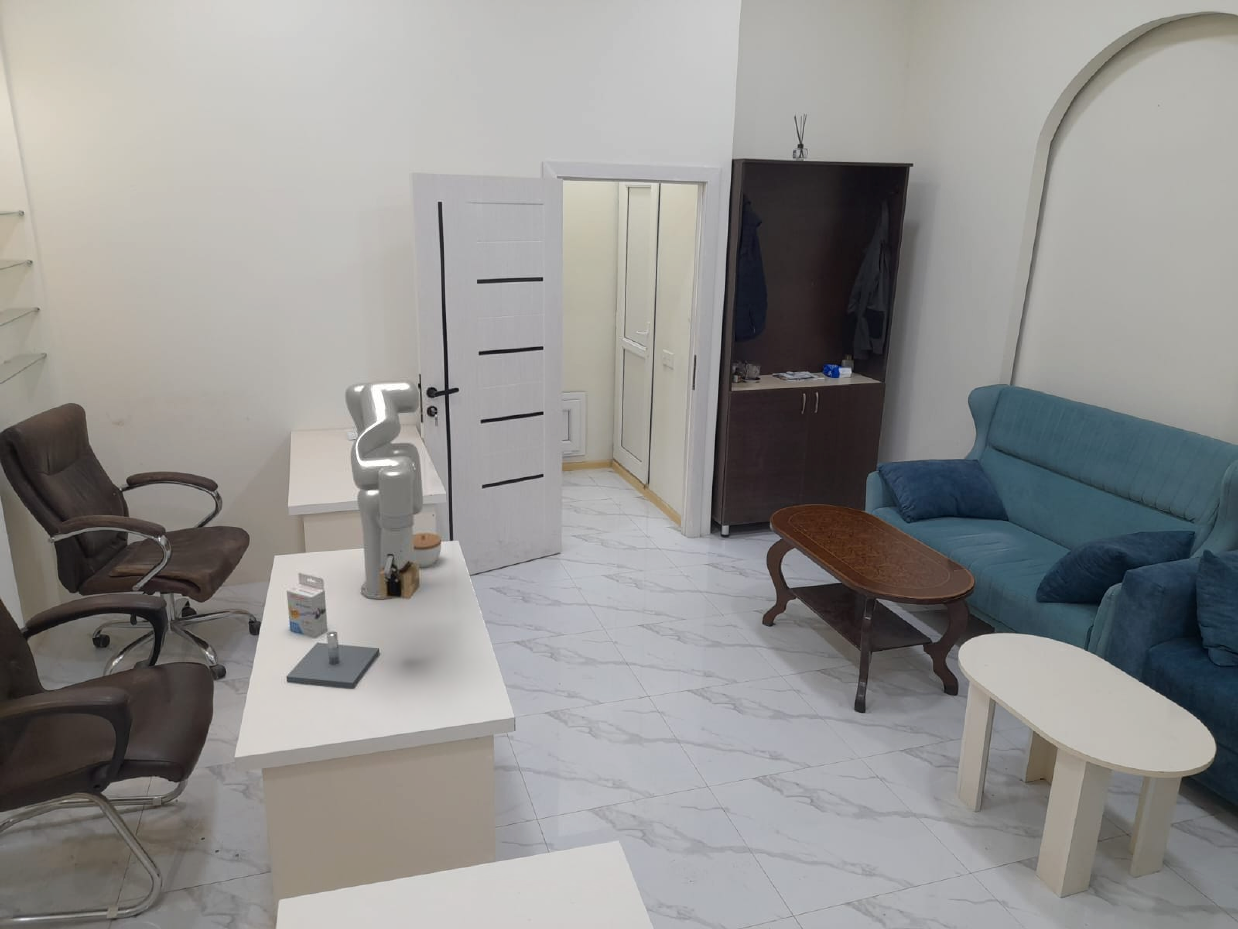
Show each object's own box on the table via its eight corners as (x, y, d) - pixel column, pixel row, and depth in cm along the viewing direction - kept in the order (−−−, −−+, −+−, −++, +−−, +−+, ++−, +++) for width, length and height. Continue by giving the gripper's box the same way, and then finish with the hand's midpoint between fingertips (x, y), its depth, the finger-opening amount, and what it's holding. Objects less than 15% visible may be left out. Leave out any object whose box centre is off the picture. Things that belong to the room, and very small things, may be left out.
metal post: (331, 658, 213) (329, 631, 211) (341, 659, 213) (339, 631, 210) (327, 664, 211) (324, 635, 208) (336, 665, 211) (334, 636, 208)
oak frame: (391, 583, 215) (390, 560, 213) (419, 586, 214) (418, 563, 212) (380, 596, 208) (379, 573, 206) (409, 599, 207) (408, 575, 205)
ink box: (289, 631, 228) (284, 579, 224) (302, 623, 233) (298, 571, 228) (315, 638, 225) (310, 585, 221) (328, 630, 230) (324, 578, 225)
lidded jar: (406, 571, 265) (404, 542, 262) (405, 557, 275) (404, 529, 272) (442, 569, 267) (441, 540, 264) (441, 554, 277) (440, 527, 274)
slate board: (317, 648, 221) (317, 642, 220) (379, 653, 219) (379, 648, 218) (286, 682, 206) (286, 676, 205) (353, 688, 204) (352, 682, 203)
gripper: (394, 504, 214) (398, 572, 219) (366, 531, 197) (371, 604, 203) (425, 507, 213) (427, 574, 218) (399, 534, 196) (402, 606, 202)
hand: (400, 588), depth 211 cm, fingers closed on oak frame, 7 cm apart
